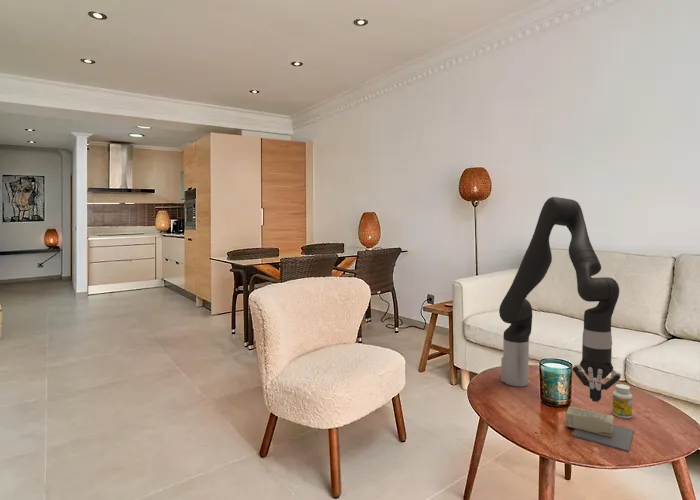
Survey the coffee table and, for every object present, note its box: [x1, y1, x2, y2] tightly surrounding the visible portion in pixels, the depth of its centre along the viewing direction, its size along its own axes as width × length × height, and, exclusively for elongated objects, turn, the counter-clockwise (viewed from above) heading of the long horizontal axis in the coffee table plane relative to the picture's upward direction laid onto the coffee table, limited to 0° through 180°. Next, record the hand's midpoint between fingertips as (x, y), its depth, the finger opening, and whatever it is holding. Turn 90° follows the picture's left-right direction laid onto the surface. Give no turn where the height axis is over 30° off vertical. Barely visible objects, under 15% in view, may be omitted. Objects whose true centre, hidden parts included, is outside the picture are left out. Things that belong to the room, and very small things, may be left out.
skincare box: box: [565, 405, 615, 437], centre depth 127 cm, size 6×4×12 cm
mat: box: [571, 424, 635, 453], centre depth 125 cm, size 14×14×1 cm
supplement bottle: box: [612, 383, 633, 419], centre depth 136 cm, size 5×5×10 cm
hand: (595, 400), depth 125 cm, fingers closed
